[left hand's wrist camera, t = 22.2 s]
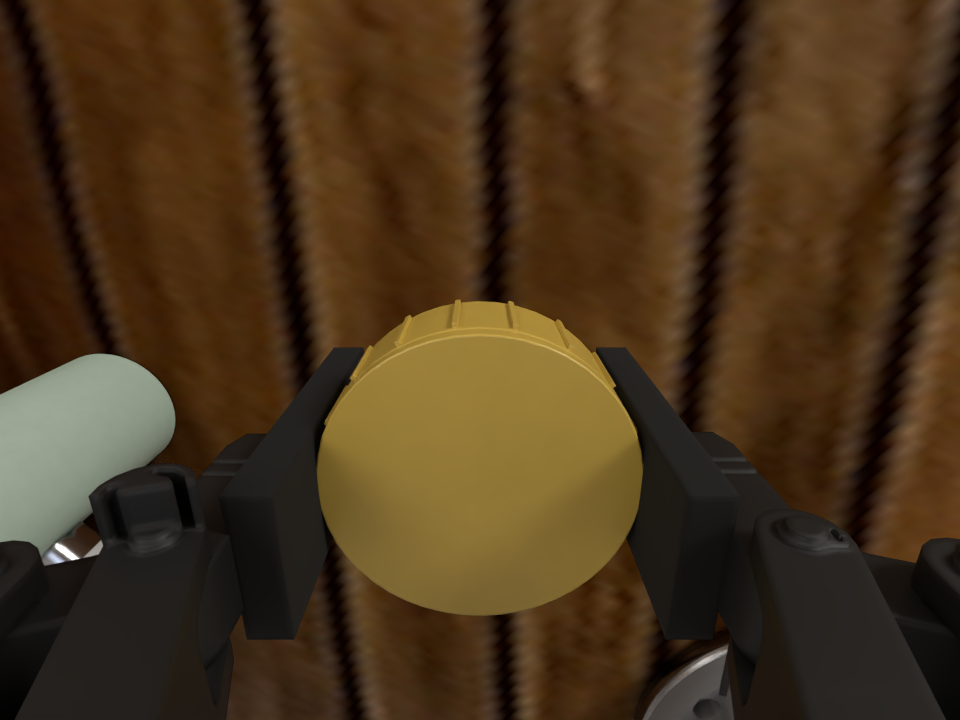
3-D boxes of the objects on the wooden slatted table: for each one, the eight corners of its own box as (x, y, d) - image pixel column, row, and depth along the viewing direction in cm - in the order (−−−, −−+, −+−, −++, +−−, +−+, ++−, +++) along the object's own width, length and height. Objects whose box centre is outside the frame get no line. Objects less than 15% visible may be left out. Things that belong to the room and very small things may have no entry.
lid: (608, 276, 11) (640, 305, 9) (623, 528, 13) (652, 601, 11) (311, 318, 11) (272, 356, 9) (375, 558, 13) (354, 635, 11)
